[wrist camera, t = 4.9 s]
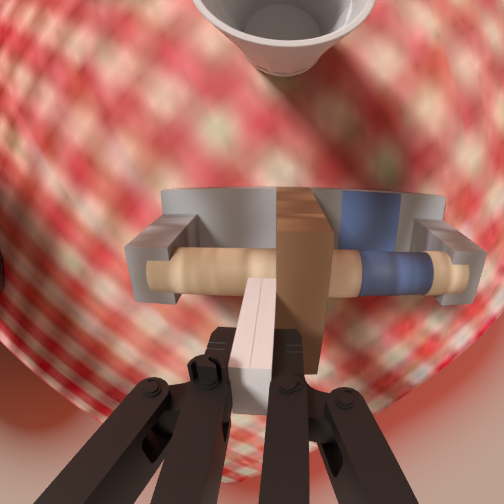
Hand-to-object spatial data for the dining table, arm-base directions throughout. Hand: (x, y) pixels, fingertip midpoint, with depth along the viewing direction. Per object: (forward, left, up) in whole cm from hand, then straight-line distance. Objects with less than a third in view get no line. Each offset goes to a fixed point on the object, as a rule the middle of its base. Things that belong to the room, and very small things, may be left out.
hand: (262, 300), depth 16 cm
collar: (+2, 0, -9) cm, 9 cm away
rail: (+3, 0, -10) cm, 11 cm away
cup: (+1, +16, -10) cm, 19 cm away
